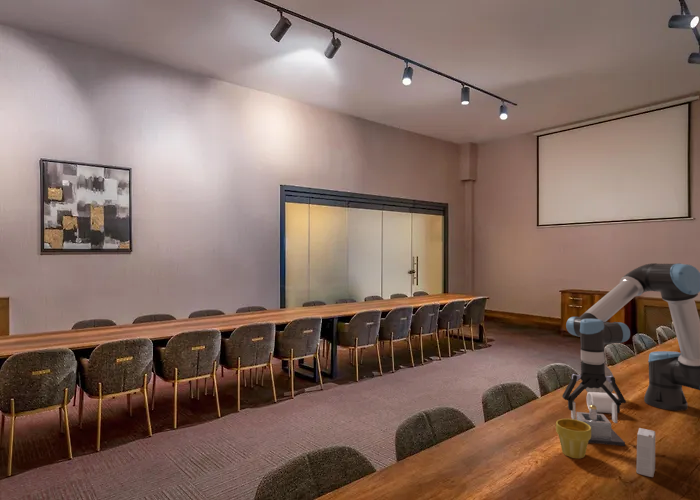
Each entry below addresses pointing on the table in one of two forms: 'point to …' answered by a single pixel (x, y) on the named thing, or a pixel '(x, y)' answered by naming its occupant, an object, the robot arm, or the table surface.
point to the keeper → (613, 441)
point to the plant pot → (573, 437)
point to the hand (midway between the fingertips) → (593, 420)
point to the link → (597, 425)
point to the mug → (600, 401)
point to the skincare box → (646, 452)
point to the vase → (606, 383)
